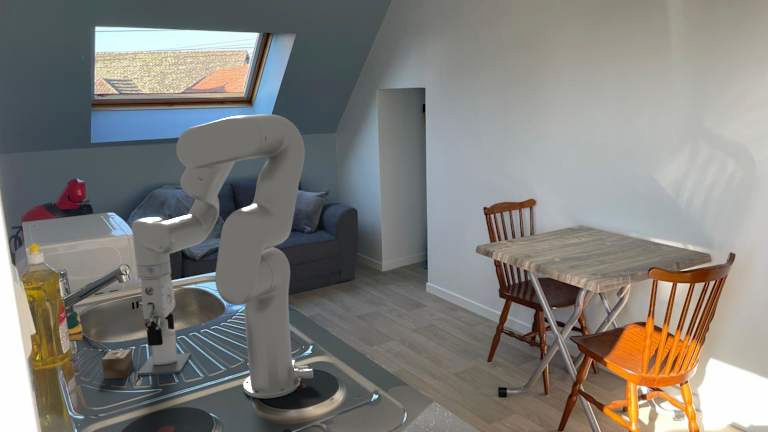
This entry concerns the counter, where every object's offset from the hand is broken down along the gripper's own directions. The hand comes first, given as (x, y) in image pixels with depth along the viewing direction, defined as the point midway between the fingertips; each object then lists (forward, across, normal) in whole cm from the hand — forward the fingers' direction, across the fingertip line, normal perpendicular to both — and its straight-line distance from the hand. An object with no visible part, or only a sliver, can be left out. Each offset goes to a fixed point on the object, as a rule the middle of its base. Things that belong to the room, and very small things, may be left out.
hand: (161, 337), depth 143 cm
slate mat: (+7, 0, 0) cm, 7 cm away
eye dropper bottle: (+7, 0, 0) cm, 7 cm away
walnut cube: (+7, -3, +10) cm, 13 cm away
